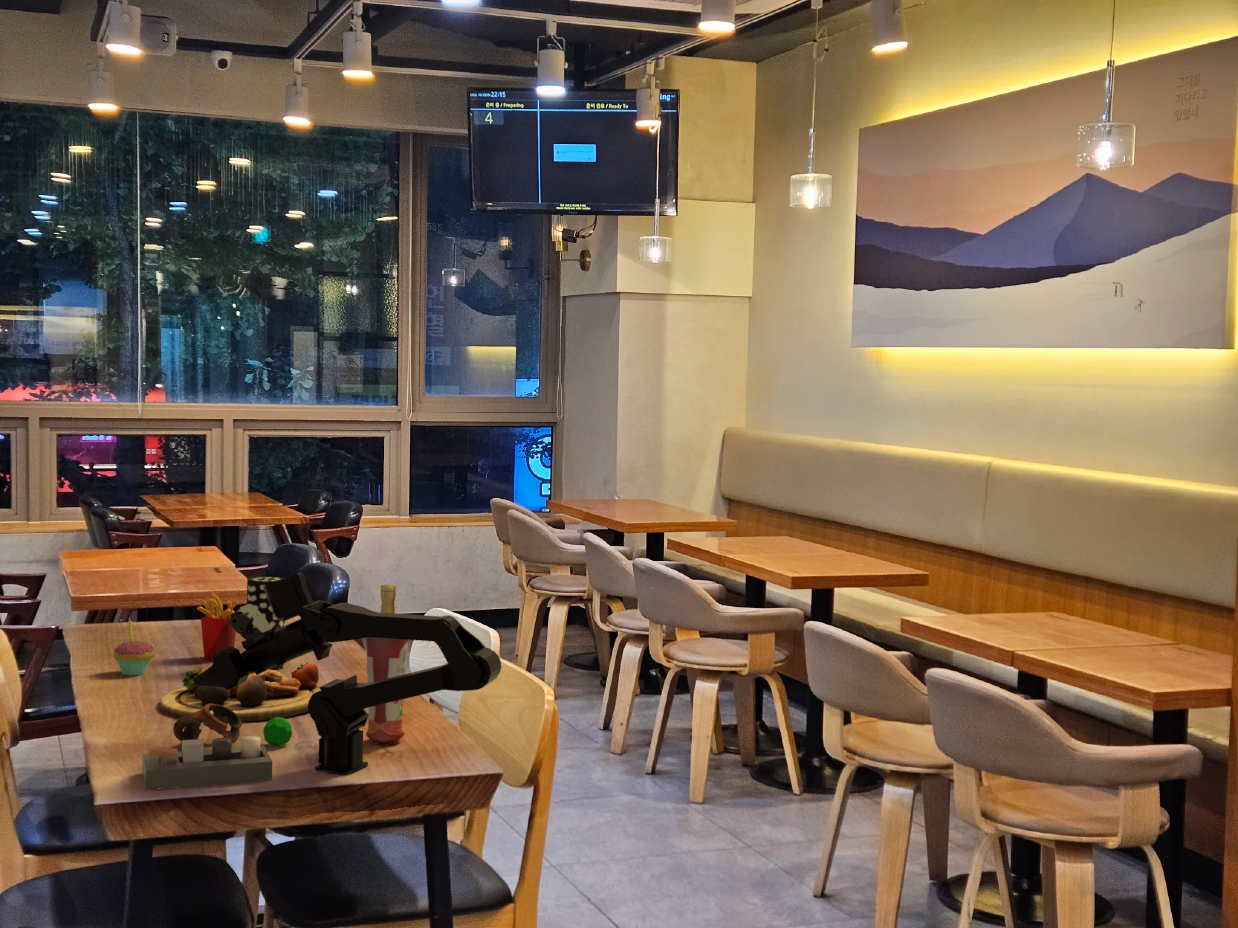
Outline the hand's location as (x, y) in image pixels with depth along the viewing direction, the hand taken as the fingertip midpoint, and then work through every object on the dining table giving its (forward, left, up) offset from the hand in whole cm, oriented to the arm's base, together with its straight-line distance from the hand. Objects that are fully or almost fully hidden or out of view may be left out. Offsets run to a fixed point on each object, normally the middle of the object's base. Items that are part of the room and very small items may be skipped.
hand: (208, 675), depth 222 cm
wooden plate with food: (+19, -34, -14) cm, 42 cm away
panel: (-8, +9, -14) cm, 18 cm away
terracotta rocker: (-3, +14, -9) cm, 17 cm away
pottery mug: (+5, -5, -14) cm, 15 cm away
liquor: (-21, -23, -14) cm, 34 cm away
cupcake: (+57, -46, -14) cm, 74 cm away
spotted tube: (+37, -65, -14) cm, 76 cm away
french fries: (+53, -67, -14) cm, 86 cm away
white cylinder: (-13, +5, -11) cm, 17 cm away
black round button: (-9, +8, -11) cm, 16 cm away
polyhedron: (-6, -12, -14) cm, 19 cm away
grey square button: (-6, +11, -11) cm, 17 cm away
